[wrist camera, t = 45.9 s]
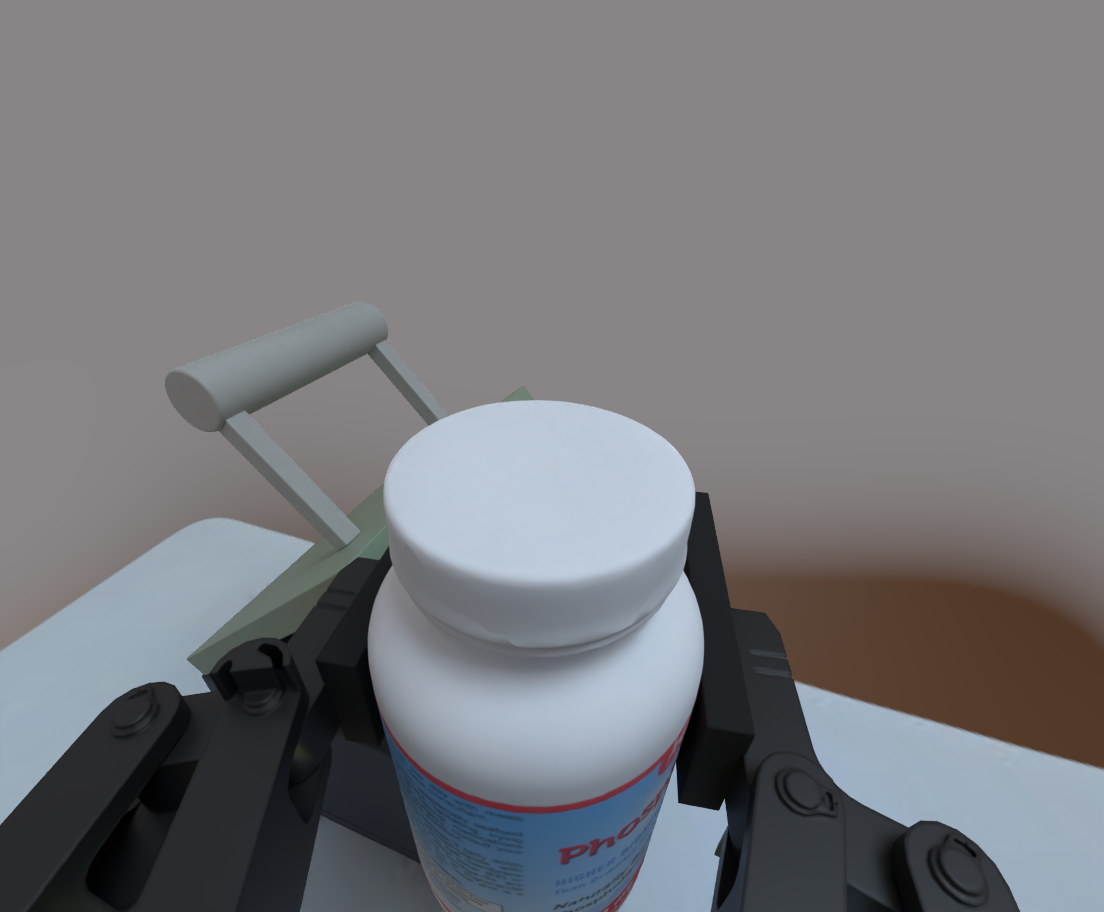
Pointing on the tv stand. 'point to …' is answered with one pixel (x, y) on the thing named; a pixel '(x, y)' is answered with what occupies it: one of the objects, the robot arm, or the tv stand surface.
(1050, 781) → the tv stand surface
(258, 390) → the box lid
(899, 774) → the tv stand surface
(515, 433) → the pill bottle
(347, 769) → the black box
